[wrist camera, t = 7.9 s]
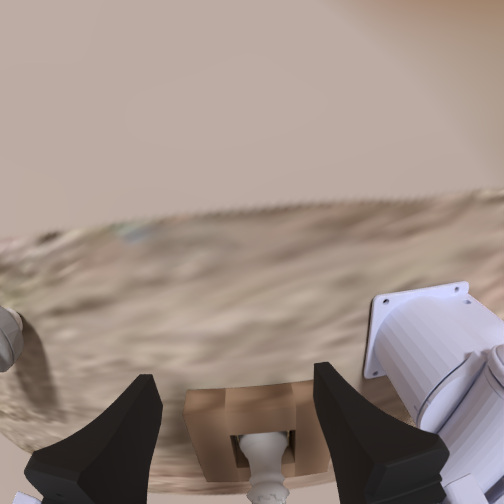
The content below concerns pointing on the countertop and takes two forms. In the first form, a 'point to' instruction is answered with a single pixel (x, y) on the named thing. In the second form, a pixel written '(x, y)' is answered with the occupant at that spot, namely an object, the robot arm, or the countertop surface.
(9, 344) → the light bulb
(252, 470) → the rook chess piece
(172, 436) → the countertop surface
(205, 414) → the socket block
